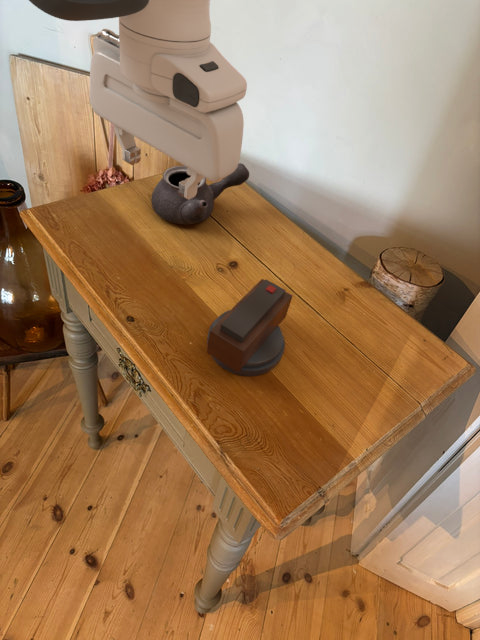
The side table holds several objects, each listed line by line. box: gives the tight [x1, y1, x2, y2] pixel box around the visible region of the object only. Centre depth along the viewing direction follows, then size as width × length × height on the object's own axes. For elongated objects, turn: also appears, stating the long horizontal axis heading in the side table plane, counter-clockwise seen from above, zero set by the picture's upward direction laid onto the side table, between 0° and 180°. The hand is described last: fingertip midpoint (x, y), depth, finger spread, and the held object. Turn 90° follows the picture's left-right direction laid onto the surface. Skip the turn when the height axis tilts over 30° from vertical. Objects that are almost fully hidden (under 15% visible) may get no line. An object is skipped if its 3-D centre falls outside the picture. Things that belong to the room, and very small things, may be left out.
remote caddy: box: [206, 278, 293, 372], centre depth 68 cm, size 14×11×7 cm
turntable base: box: [206, 319, 286, 377], centre depth 72 cm, size 12×12×2 cm
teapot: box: [150, 162, 250, 225], centre depth 90 cm, size 19×15×10 cm
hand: (158, 178), depth 57 cm, fingers open, 8 cm apart
